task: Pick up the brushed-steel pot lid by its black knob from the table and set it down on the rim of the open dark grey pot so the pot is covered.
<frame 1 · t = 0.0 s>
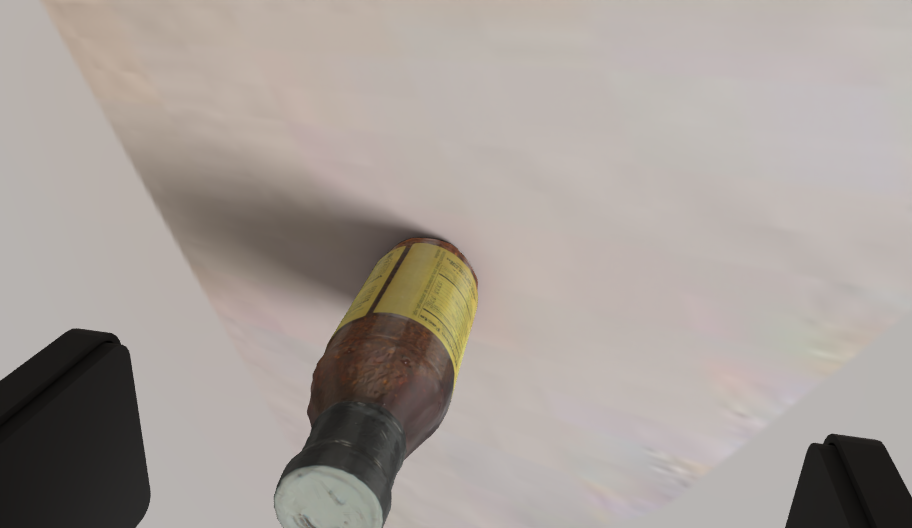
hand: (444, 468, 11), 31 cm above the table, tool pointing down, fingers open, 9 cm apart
sauce bottle: (433, 279, 45), on the table
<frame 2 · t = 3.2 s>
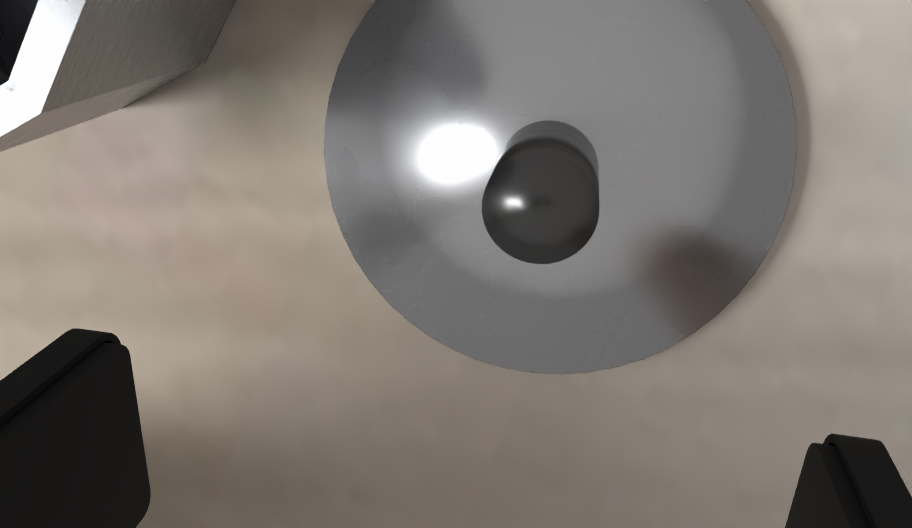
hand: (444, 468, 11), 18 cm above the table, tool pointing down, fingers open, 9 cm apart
lid: (549, 163, 27), on the table
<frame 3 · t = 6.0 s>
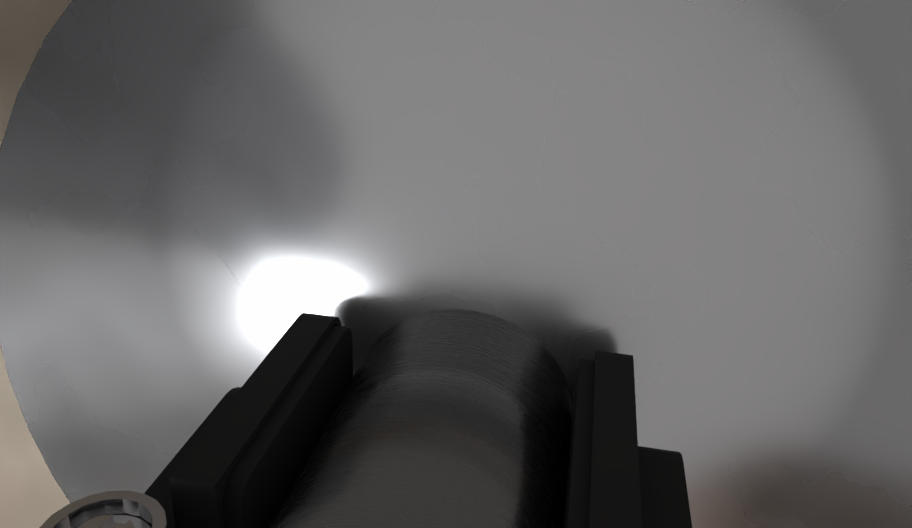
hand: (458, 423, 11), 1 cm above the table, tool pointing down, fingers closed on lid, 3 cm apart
lid: (470, 380, 13), on the table, touching gripper
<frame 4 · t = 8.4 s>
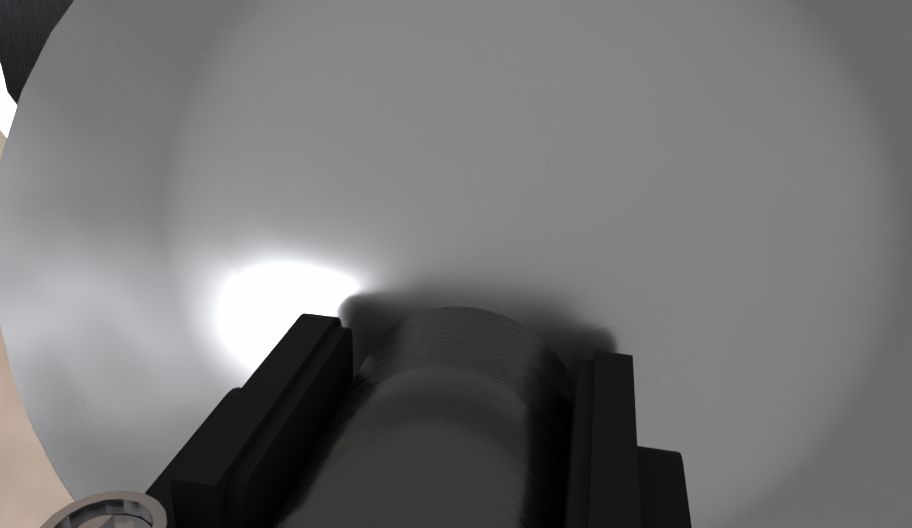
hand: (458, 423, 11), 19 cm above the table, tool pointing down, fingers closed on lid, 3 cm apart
pot: (326, 2, 28), on the table
lid: (474, 378, 13), point 18 cm above the table, touching gripper
when the fingers open (12 cm above the table, at t = 11.1 s): lid drops 1 cm, resting on pot.
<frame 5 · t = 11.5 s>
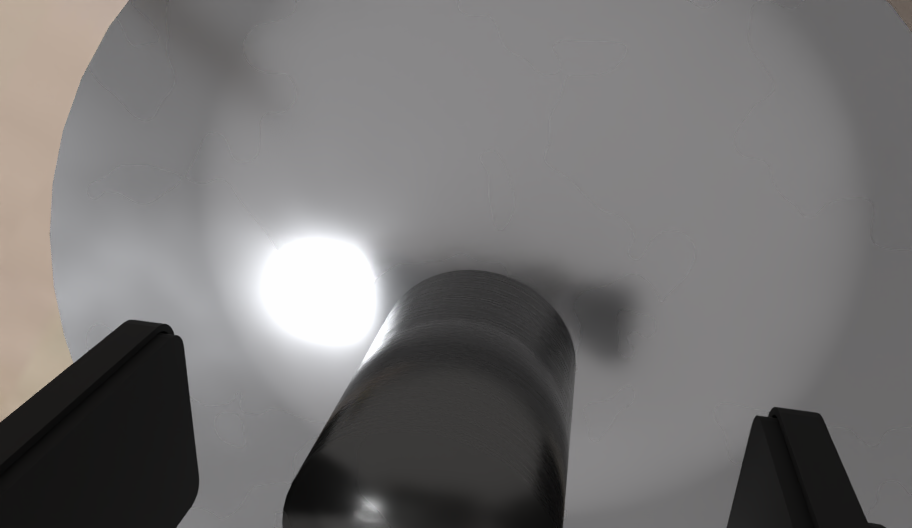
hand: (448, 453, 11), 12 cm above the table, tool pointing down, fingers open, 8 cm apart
lid: (483, 337, 14), point 9 cm above the table, touching pot
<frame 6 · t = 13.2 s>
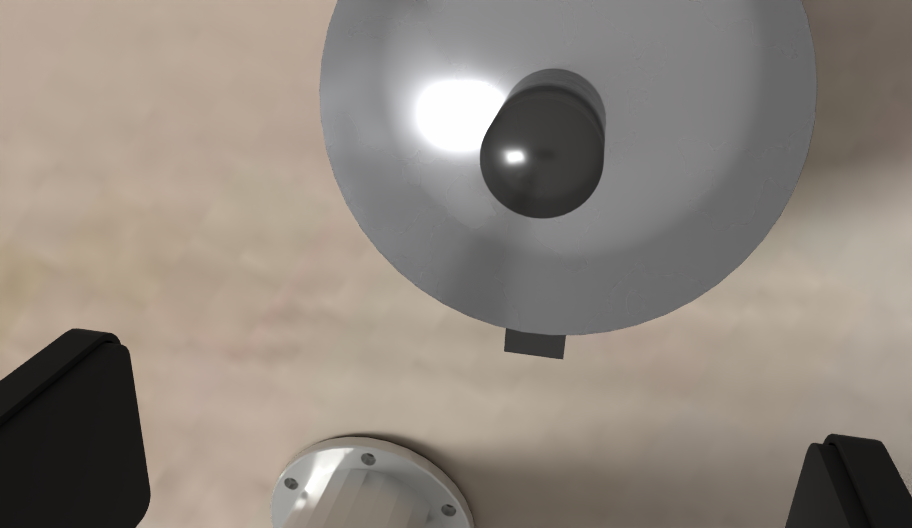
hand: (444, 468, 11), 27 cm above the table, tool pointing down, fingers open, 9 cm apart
pot: (570, 66, 34), on the table
lid: (554, 115, 26), point 9 cm above the table, touching pot
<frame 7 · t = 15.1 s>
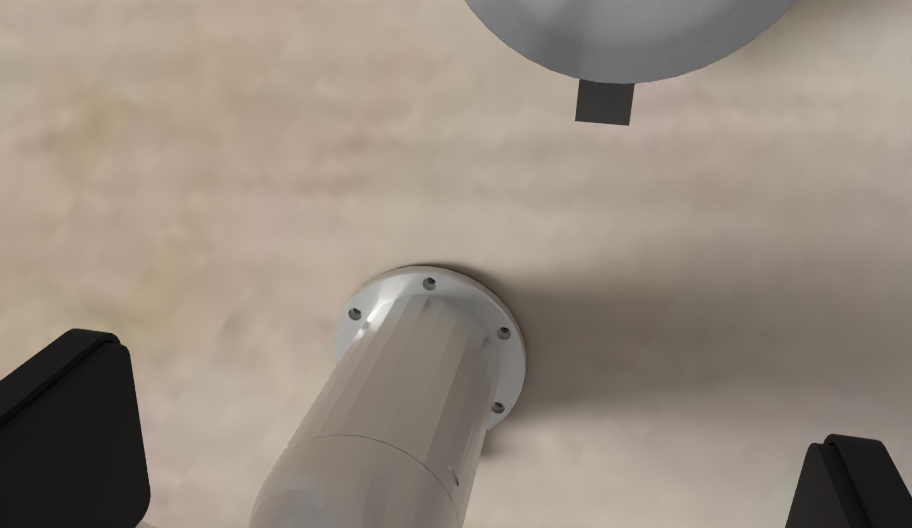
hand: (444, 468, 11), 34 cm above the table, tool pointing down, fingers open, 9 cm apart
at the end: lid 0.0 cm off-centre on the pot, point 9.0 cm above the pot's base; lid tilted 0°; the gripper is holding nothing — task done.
